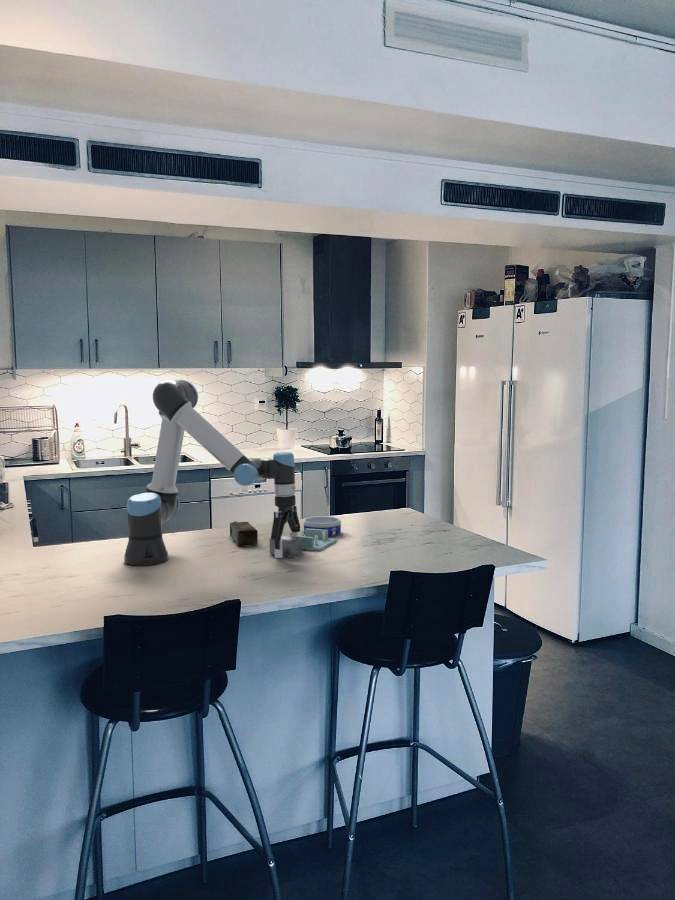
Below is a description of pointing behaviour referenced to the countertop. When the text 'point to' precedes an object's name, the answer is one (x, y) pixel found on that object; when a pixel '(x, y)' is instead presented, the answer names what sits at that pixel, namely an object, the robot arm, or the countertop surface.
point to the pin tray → (316, 539)
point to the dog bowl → (324, 524)
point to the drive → (288, 546)
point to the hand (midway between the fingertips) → (286, 553)
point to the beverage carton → (243, 533)
